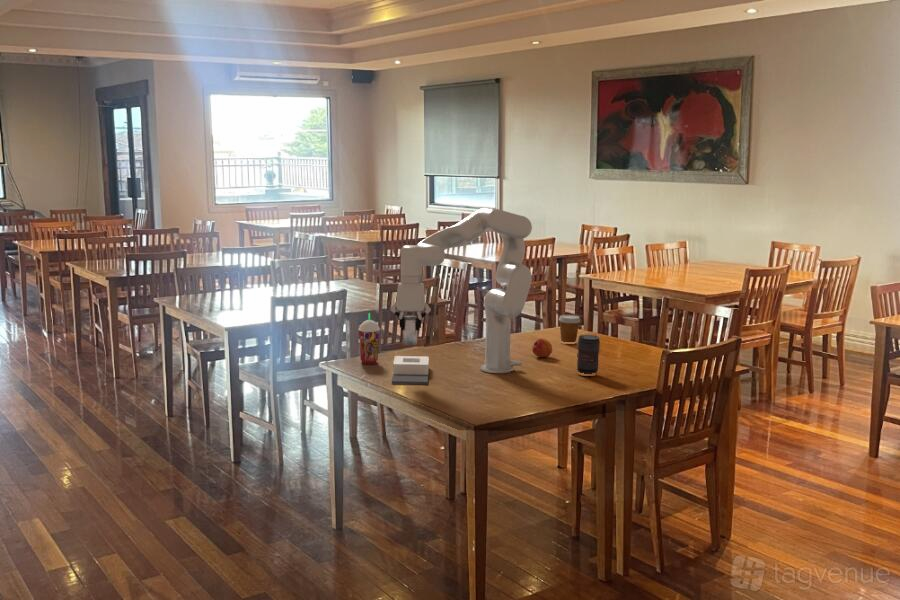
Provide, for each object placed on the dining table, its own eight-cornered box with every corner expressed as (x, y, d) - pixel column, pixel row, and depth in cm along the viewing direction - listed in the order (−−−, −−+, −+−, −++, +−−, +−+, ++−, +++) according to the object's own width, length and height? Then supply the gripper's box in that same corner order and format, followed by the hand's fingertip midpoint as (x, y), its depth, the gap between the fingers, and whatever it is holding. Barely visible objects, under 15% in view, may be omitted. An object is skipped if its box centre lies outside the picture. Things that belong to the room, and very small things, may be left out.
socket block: (428, 367, 340) (428, 356, 339) (428, 376, 327) (428, 364, 326) (394, 367, 340) (395, 356, 339) (393, 375, 327) (393, 364, 326)
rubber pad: (428, 377, 325) (428, 374, 325) (427, 384, 316) (427, 381, 315) (393, 376, 325) (393, 374, 325) (391, 383, 315) (391, 381, 315)
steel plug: (416, 342, 321) (417, 315, 319) (416, 345, 316) (417, 318, 314) (403, 342, 320) (403, 315, 319) (402, 345, 316) (403, 317, 314)
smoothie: (376, 366, 341) (376, 315, 338) (355, 364, 343) (355, 314, 339) (382, 361, 349) (382, 311, 346) (362, 359, 351) (362, 310, 347)
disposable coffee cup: (573, 346, 382) (574, 319, 380) (554, 343, 387) (555, 316, 385) (582, 342, 390) (584, 316, 388) (563, 340, 395) (564, 313, 393)
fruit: (532, 354, 365) (533, 336, 364) (552, 355, 364) (553, 337, 363) (531, 359, 357) (532, 340, 356) (551, 360, 356) (552, 341, 355)
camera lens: (580, 378, 329) (582, 339, 326) (573, 372, 337) (575, 334, 334) (600, 377, 330) (602, 338, 327) (594, 372, 338) (596, 334, 335)
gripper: (434, 279, 318) (433, 328, 321) (387, 278, 318) (387, 327, 321) (434, 282, 311) (433, 332, 314) (386, 281, 310) (386, 331, 313)
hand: (410, 329), depth 317 cm, fingers closed on steel plug, 5 cm apart
